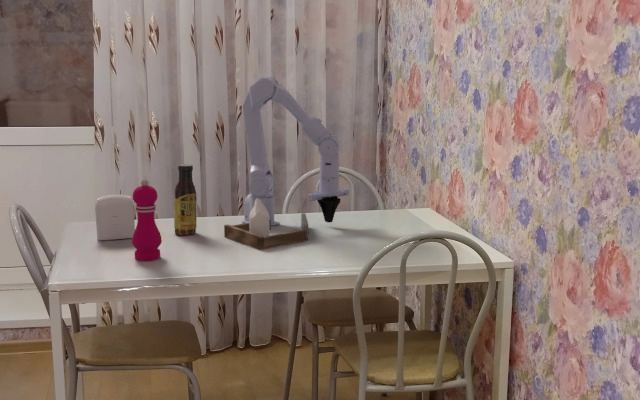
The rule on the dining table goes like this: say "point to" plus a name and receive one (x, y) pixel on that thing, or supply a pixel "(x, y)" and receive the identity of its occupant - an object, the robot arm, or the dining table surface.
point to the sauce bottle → (185, 202)
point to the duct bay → (260, 242)
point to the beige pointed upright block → (259, 219)
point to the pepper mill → (146, 224)
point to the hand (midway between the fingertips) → (328, 221)
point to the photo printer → (114, 217)
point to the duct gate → (303, 221)
